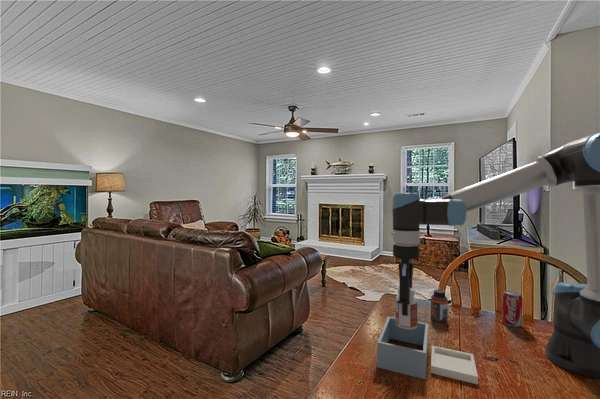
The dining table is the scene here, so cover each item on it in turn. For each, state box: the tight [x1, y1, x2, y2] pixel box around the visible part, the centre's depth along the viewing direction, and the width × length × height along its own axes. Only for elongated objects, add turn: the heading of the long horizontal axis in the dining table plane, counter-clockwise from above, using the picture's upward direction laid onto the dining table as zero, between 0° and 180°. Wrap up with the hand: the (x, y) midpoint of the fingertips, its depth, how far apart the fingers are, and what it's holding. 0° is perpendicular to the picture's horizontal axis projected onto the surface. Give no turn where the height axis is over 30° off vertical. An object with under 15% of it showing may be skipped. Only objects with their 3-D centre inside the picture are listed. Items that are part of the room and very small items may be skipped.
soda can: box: [501, 290, 524, 328], centre depth 111 cm, size 6×6×12 cm
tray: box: [430, 345, 479, 385], centre depth 83 cm, size 11×12×2 cm
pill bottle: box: [395, 286, 418, 330], centre depth 88 cm, size 6×6×11 cm
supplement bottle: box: [430, 289, 449, 323], centre depth 115 cm, size 6×6×11 cm
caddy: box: [376, 316, 429, 381], centre depth 88 cm, size 13×20×7 cm, turn 155°
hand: (406, 320), depth 88 cm, fingers closed on pill bottle, 6 cm apart
